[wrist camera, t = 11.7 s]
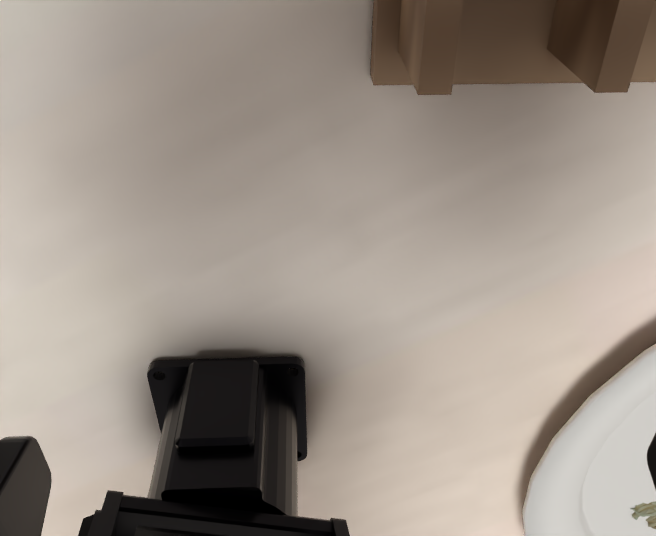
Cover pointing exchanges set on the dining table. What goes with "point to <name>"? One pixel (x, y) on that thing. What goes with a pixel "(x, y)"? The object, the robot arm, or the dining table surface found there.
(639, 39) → the dish rack
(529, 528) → the plated food
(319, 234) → the dining table surface
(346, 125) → the dining table surface
